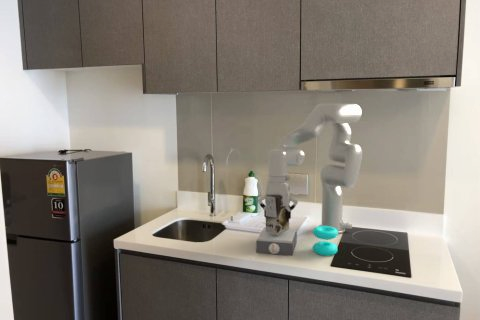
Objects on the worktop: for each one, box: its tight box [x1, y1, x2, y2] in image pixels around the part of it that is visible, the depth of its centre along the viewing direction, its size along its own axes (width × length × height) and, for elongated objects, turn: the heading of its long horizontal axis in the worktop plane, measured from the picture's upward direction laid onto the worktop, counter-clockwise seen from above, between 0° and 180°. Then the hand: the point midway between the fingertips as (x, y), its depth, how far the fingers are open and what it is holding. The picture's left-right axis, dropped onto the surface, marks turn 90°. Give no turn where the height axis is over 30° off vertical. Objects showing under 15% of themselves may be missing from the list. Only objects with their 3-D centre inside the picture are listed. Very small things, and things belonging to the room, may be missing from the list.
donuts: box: [312, 225, 339, 257], centre depth 163 cm, size 10×10×10 cm
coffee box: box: [265, 195, 290, 235], centre depth 166 cm, size 9×6×16 cm
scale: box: [255, 226, 298, 257], centre depth 168 cm, size 15×16×6 cm
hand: (277, 219), depth 167 cm, fingers closed on coffee box, 8 cm apart
